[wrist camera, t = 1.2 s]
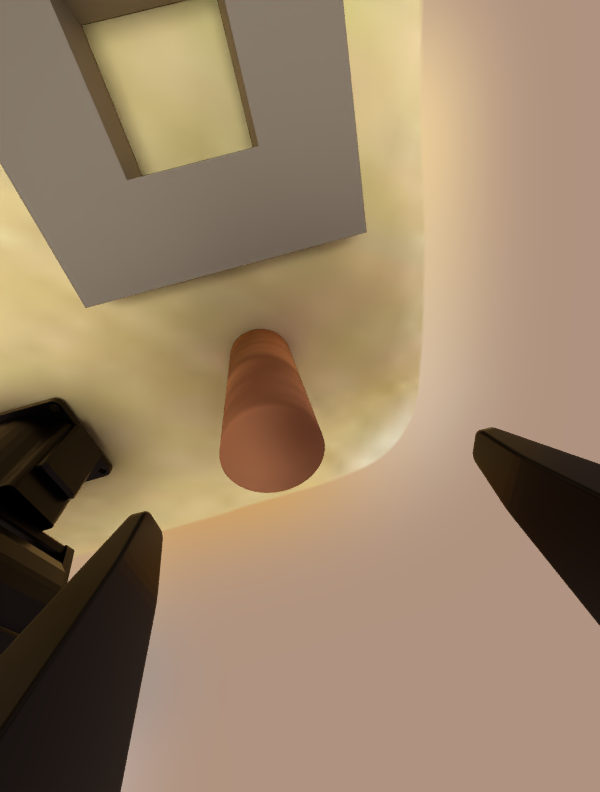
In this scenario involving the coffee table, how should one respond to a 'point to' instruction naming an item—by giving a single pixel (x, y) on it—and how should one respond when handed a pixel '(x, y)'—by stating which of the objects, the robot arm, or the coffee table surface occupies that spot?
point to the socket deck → (190, 184)
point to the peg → (267, 417)
